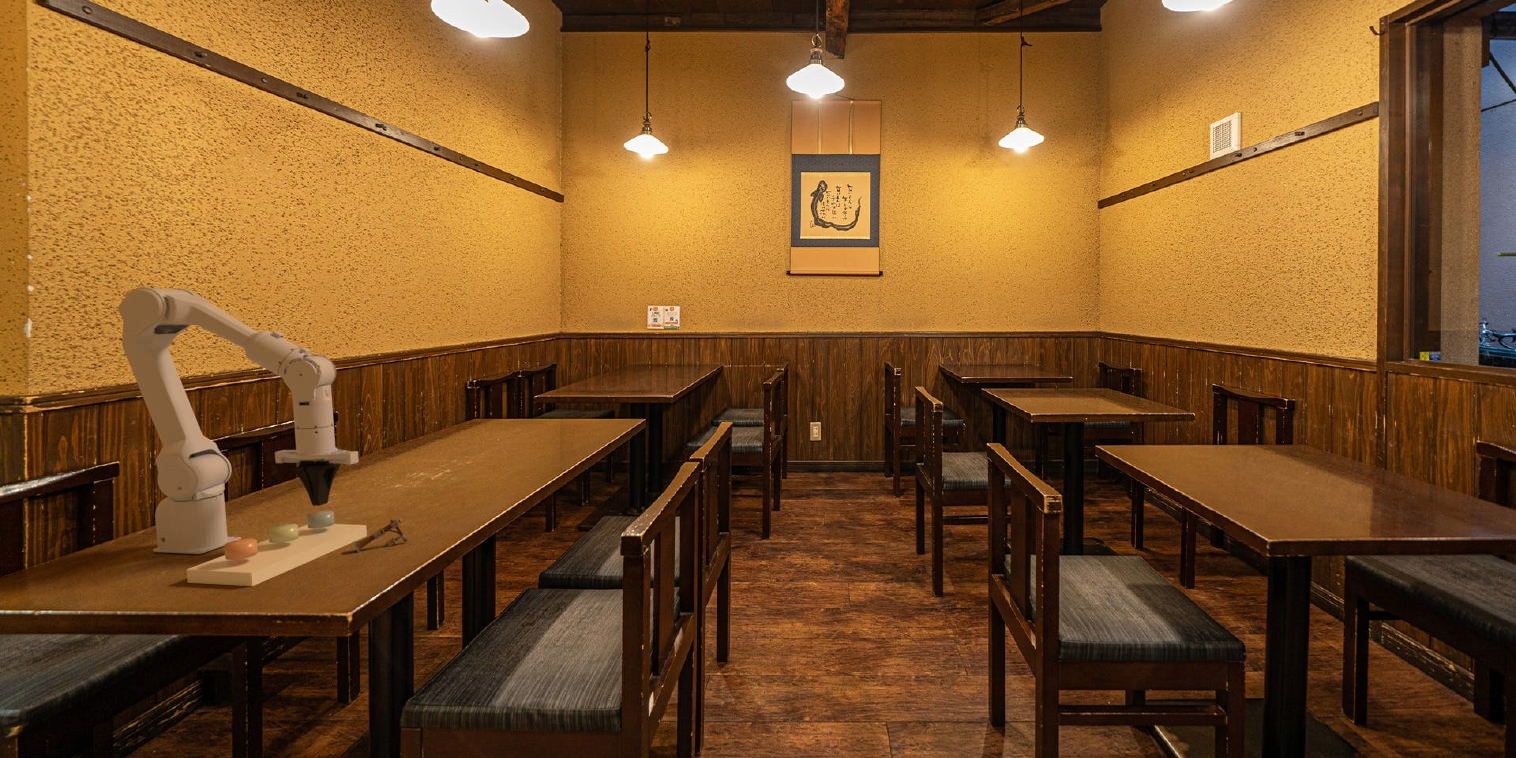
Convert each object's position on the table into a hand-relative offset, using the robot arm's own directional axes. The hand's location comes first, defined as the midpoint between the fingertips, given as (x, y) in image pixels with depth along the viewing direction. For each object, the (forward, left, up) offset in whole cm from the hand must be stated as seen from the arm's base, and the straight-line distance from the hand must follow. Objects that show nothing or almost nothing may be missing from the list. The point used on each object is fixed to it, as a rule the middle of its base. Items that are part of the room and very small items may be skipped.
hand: (320, 504), depth 126 cm
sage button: (0, -8, -5) cm, 9 cm away
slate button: (0, 0, -5) cm, 5 cm away
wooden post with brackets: (+12, -1, -7) cm, 14 cm away
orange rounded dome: (0, -16, -5) cm, 17 cm away
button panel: (0, -8, -7) cm, 10 cm away
